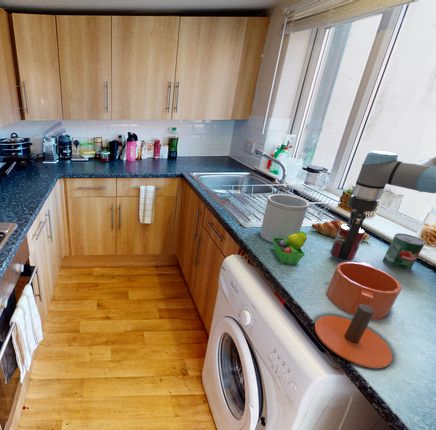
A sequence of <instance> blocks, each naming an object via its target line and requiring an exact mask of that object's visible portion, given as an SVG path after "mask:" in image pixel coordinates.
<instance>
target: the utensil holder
mask: <svg viewBox="0 0 436 430" xmlns="http://www.w3.org/2000/svg"><path fill="white" fill-rule="evenodd" d="M266 200H267V202H266V206H265V210H264V215H263V218H262V223H261V228H260V234H259V235H260V237H261V238H262V239H264V240H265V241H267V242H269V243H272V244H274V241H273V238H283V239H288V237H289V235H291V234H296V233H297V232H299V231H301V229H302V226H303V223H304V220H305V217H306V213H307V210H308V208H309V206H310V202H309V200H307V199H305V198H303V197H300V196H298V195H293V194H288V193H272V194H269V195H267V199H266Z"/></svg>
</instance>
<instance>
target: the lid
mask: <svg viewBox="0 0 436 430" xmlns="http://www.w3.org/2000/svg"><path fill="white" fill-rule="evenodd" d="M374 313H375V310H374V309H373V308H371V307H370V306H367V305H364V304H360V305H359V306H358V309H357V311H356V313H355V315H353V317H352V318H351V319H350V318H349V319H348V318H345V317H341V316H337V315H336V316H335V315H325V316H321V317H319V318H317V319H316V321H315V323H314V327H313V328H314V332H315V334H316V336H317V338H318V339H319V340H320V342H321V343H322V344H323V345H324V346H325V347H326V348H328V349H329V350H330V351H331V352H333V353H334V354H336V355H337V356H338V357H339V358H342V359H343V360H346V361H348V362H350V363H352V364H355V365H356V366H357V365H358V366H361V367H365V368H370V369H383V368H386V367H388V366H389V365H390V364H391V362H392V361H393V354H392V350H391V348H390V347H389V345H388V344H387V342H386V341H385V340H383V338H381V336H379V335H378V334H376V333H375V332H374V331H372V330H371V329H369V328H368V327H369V324H370V322H371V320H372V319H371V318H372V317H373V315H374Z"/></svg>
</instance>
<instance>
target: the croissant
mask: <svg viewBox="0 0 436 430" xmlns="http://www.w3.org/2000/svg"><path fill="white" fill-rule="evenodd" d="M342 225H347V223H346V222H345V221H343V220H336V219H335V220H334V219H333V220H330V221H325V222H323V223H320V222H317V223H312V224H311V228H312V229H314V230H315V231H317V232H318V233H320V234H322V235H324V236H327V237H331V238H334V239H335V238H336V235H337V233H338V230H339V228H340V226H342ZM371 238H372V237H371V236H370V235H368V234H367V233H366V232H365V234H364V236H363V239H362V241H369V240H370V239H371Z"/></svg>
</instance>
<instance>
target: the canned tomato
mask: <svg viewBox="0 0 436 430" xmlns="http://www.w3.org/2000/svg"><path fill="white" fill-rule="evenodd" d="M425 244H426V241H425V240H423V239H422V238H419V237H417V236H415V235H411V234H407V233H399V232H398V233H395V234H394V236H393V238H392V240H391V242H390V244H389V246H388V249H387V250H386V252H385V255H384V256H383V258H382V262H383V263H384V264H385V265H386V266H388V267H391V268H392V269H395V270H399V271H405V272H408V271H411V270H412V268H413V266H414V264H415V262H416V260H417V259H418V257H419V255H420V253H421V251H422V250H423V248H424V246H425Z"/></svg>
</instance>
